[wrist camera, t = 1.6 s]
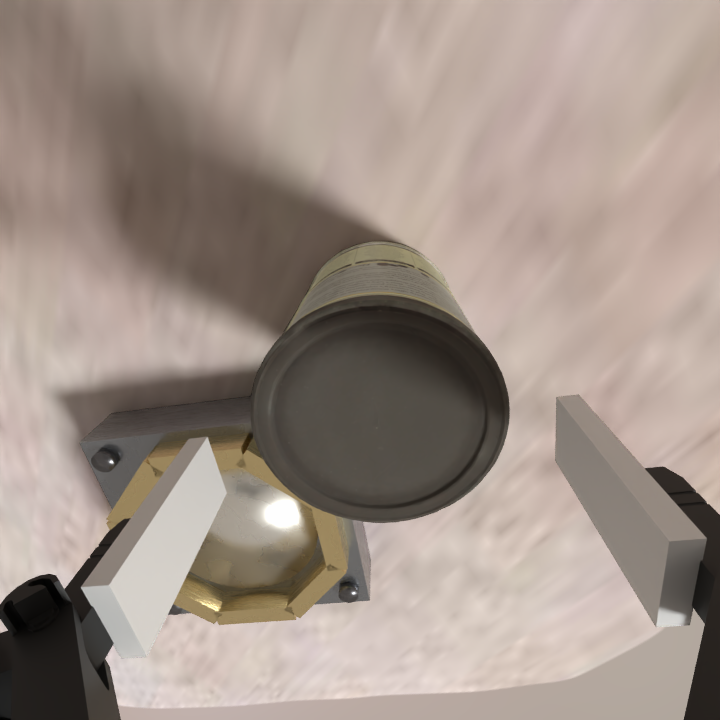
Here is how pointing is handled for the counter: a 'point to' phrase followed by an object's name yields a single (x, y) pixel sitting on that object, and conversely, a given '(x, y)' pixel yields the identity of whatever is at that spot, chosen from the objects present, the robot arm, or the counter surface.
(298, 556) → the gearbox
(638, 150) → the counter surface
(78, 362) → the counter surface
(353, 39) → the counter surface
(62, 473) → the counter surface
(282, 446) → the coffee can
